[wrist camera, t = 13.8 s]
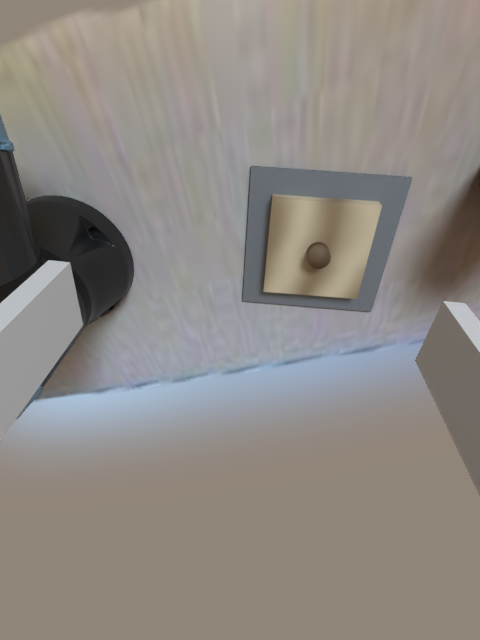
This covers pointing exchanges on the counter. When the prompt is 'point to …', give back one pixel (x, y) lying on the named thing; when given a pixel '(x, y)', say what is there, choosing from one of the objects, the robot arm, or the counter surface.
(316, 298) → the rubber mat
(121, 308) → the counter surface
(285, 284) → the bamboo lid
